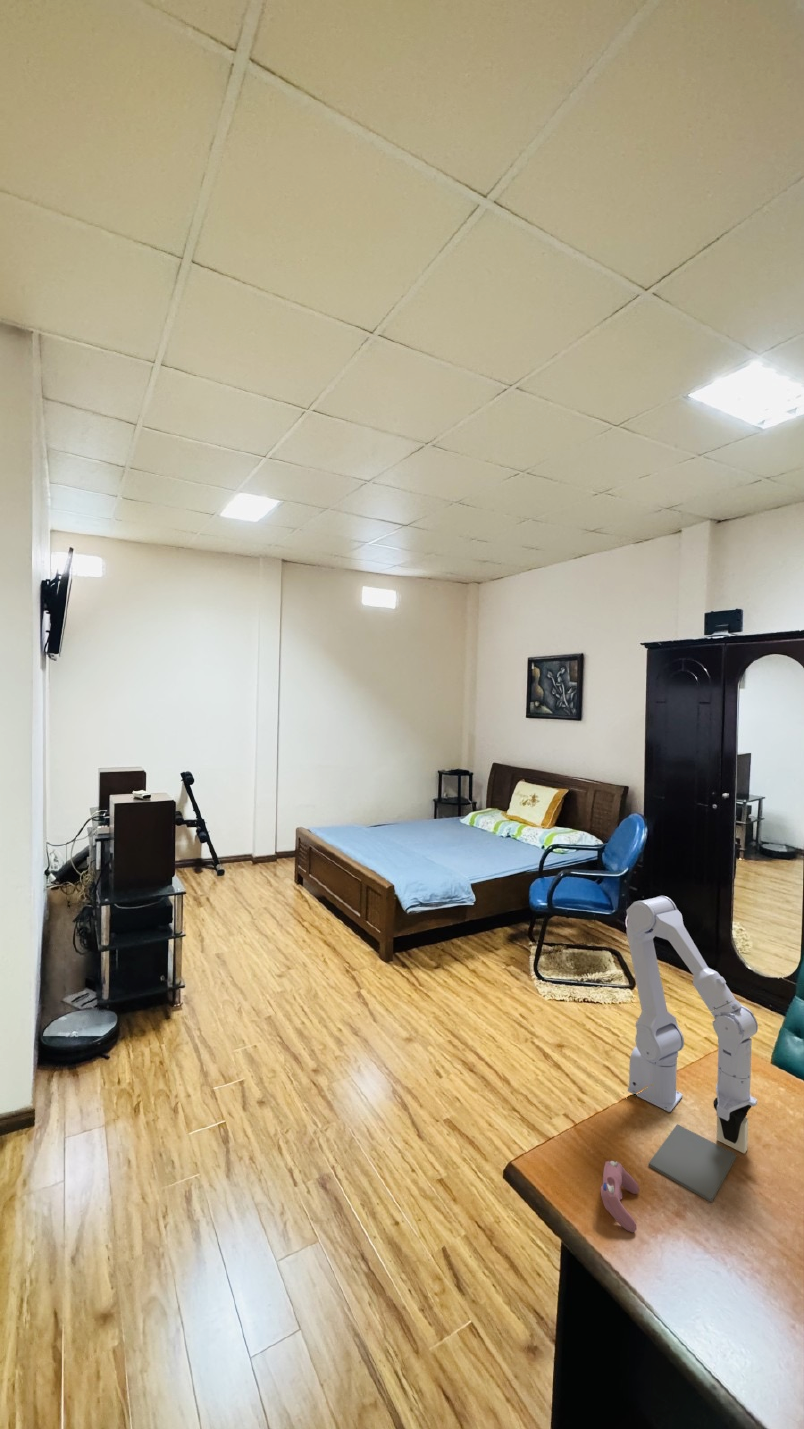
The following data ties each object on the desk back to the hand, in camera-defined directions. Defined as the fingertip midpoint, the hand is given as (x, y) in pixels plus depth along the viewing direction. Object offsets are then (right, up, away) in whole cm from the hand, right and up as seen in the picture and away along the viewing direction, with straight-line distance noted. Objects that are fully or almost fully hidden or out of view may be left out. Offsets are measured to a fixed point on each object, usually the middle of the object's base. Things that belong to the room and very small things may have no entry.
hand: (732, 1136), depth 113 cm
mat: (-10, -1, -5) cm, 11 cm away
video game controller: (-29, -1, -15) cm, 32 cm away
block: (0, -2, 0) cm, 2 cm away
